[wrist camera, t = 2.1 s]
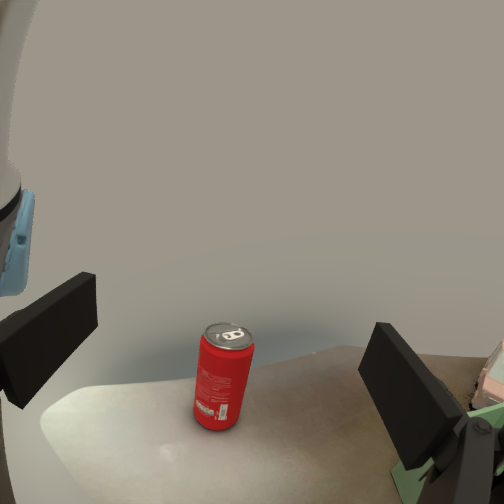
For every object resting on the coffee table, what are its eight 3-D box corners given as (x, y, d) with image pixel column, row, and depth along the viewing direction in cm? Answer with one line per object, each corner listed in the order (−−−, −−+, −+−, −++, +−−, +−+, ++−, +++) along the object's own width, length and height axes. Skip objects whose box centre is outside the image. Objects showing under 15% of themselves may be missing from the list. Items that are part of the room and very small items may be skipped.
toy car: (462, 409, 31) (491, 359, 29) (474, 374, 41) (494, 332, 38) (500, 428, 24) (533, 379, 22) (505, 389, 34) (528, 347, 32)
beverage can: (185, 409, 29) (191, 325, 26) (221, 398, 33) (235, 317, 30) (208, 439, 25) (221, 355, 23) (246, 424, 29) (267, 342, 26)
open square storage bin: (425, 573, 7) (493, 535, 4) (390, 471, 22) (430, 419, 20) (514, 518, 7) (565, 470, 5) (473, 448, 22) (509, 400, 20)
